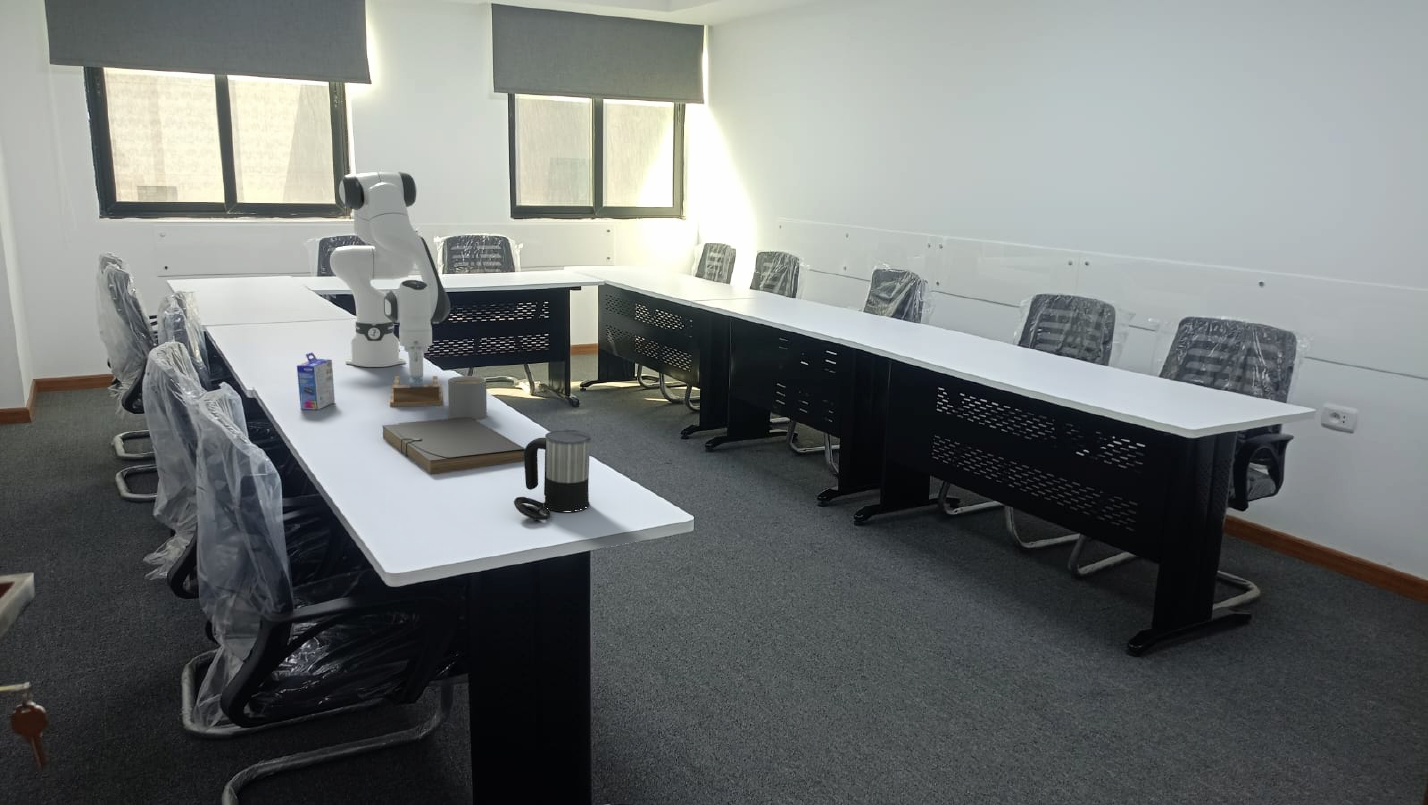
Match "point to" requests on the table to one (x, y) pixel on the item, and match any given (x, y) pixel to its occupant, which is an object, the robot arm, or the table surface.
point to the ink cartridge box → (315, 383)
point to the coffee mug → (467, 397)
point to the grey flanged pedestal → (416, 382)
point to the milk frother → (557, 473)
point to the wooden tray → (416, 394)
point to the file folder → (452, 444)
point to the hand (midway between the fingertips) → (416, 386)
